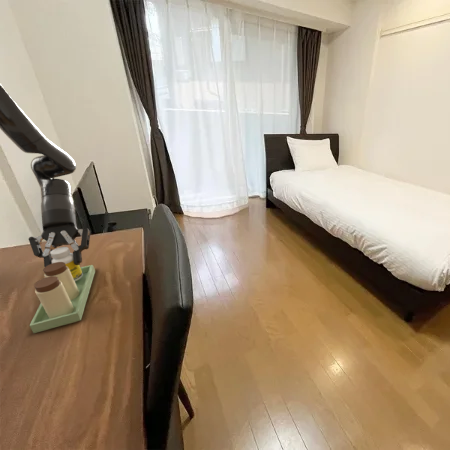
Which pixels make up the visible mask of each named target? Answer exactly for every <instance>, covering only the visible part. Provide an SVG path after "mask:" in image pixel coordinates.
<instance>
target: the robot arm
mask: <svg viewBox="0 0 450 450" xmlns="http://www.w3.org/2000/svg"><path fill="white" fill-rule="evenodd" d="M0 130H1V131H2V133H3V134H4V135H5V136H6V137H7V138H8V139H9V140H10V141H11V142H12V143H13V144H14V145H15V146H16V147H17V148H18V149H19V150H20V151H21V152H23V153H26V154H38V155H39V156H36V157H34V158H33V159H31V162H30V169H31V171H32V174H33V175H34V177H35V179H36V181H37V183H38V185H39V189H40V198H41V199H40V200H41V201H40V213H41V221H42V222H41V225H42V233H41V235H38V236H35V237H34V236H29V237H28V242H29V244H30V247H31V251H32V253H33V255H34V256H35V257H37V258H39V259H43V268H45V267H46V266H48V265H50V264H52V263H51V260H52V259H53V257H52V256H51V251H52V250H54V249H56V248H60V247H63V246H70V247H71V249H72V250H73V251H72V253H73V258H74V264H75V265H79V266H81V263H83V256H82V252H83V251H85V250H88V249H89V248H90V241H91V232H92V231H91V230H89V228H87V227H84V228H78V225H77V217H76V208H75V203H74V200H73V194H72V193H73V192H72V186H71V184H70V182H69V181H67V180H65V179H62V178H59V177H63V176H68V175H71V174H73V173H74V172H76V169H77V164H76V162H75V159H73V157H72V156H71V155H70V154H69V153H67V152H66V151H65V150H64V149H62V148H61V147H59V146H58V145H57V144H56V143H54V142H53V141H52V140H51V139H49V138H48V137H46V135H45V134H44V133H43V132H42V131H41V130H40V128H38V126H37V125H36V124H35V123H34V121H32V120H31V118H30V117H29V116H28V115H27V114H26V113H25V112H24V110H23V109H22V108H21V107H20V106H19V105H18V104H17V102H16V101H15V100H14V98H13V97H11V95H10V94H9V93H8V91H7V90H6V89H5V87H4V86H3V85H2V83H0ZM78 235H80V236H81V241H80V245H79V244H78V242H77V241H76V238H77V237H78ZM43 240H44V241H46V243H45V245H44V250H43V249H42V245H41V244H42V243H43Z"/></svg>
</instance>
